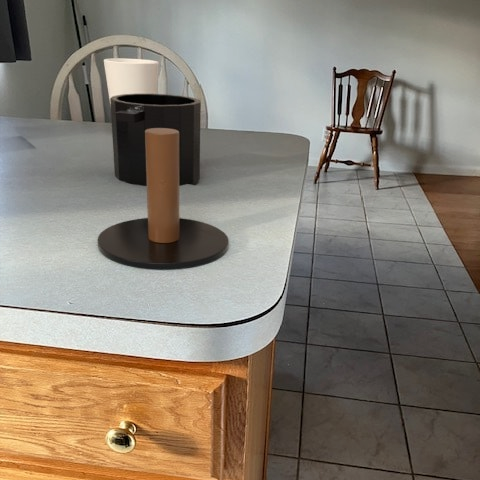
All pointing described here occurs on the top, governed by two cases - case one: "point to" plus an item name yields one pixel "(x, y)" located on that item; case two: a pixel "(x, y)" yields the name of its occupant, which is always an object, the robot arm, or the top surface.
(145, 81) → the cup
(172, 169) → the lid
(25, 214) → the top surface
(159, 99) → the pot
